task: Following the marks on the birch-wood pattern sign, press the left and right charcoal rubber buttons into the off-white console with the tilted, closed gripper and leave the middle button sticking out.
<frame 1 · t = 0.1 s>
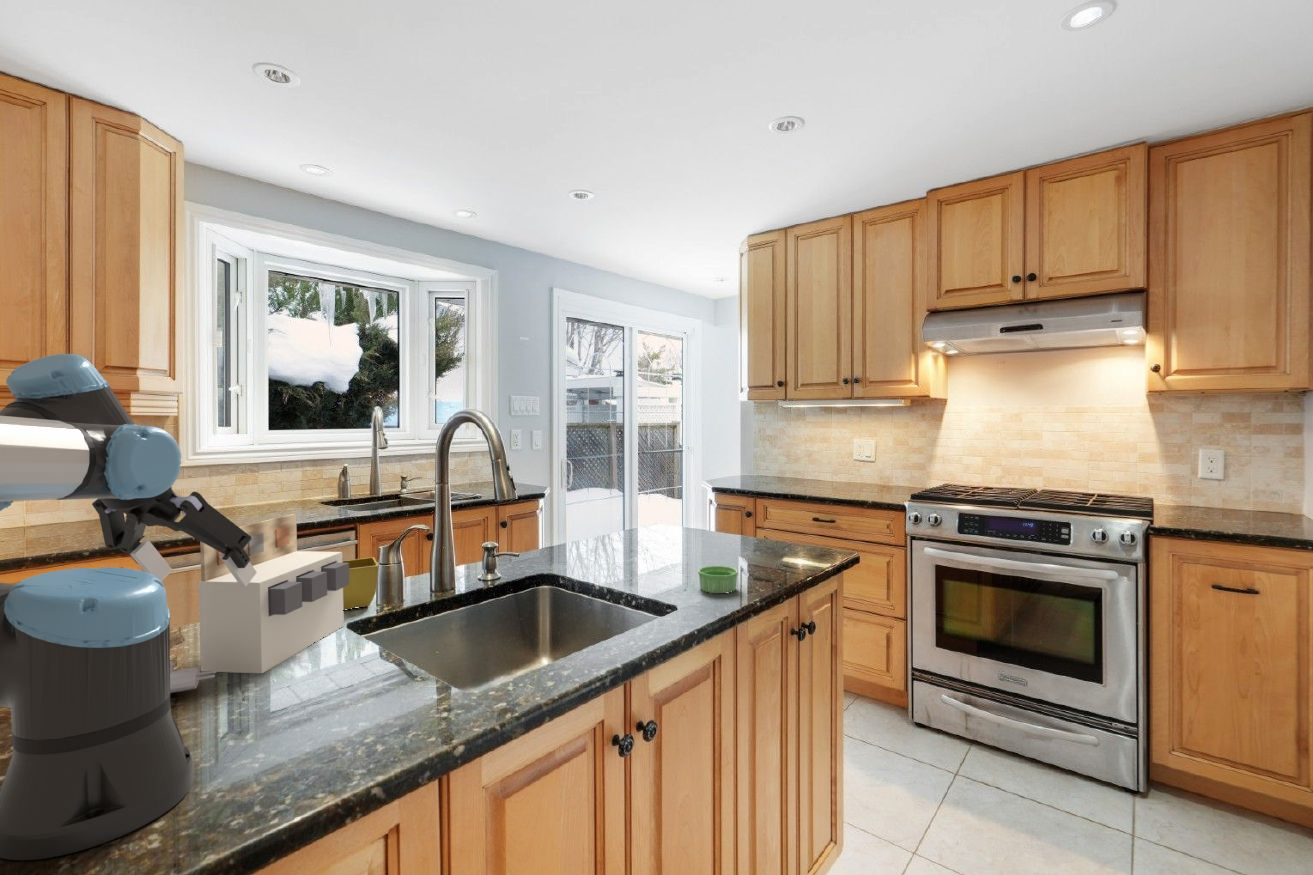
hand: (206, 578, 91), 15 cm above the countertop, tool tilted 35°, fingers open, 13 cm apart
ramekin: (717, 590, 139), on the countertop
charger: (149, 703, 85), on the countertop
right button: (334, 576, 110), point 10 cm above the countertop, slide at 0.0 cm
console: (279, 646, 104), on the countertop
middle button: (310, 586, 104), point 10 cm above the countertop, slide at 0.0 cm
left button: (284, 597, 97), point 10 cm above the countertop, slide at 0.0 cm
flower pot: (353, 607, 126), on the countertop
pattern sign: (256, 645, 105), resting on console
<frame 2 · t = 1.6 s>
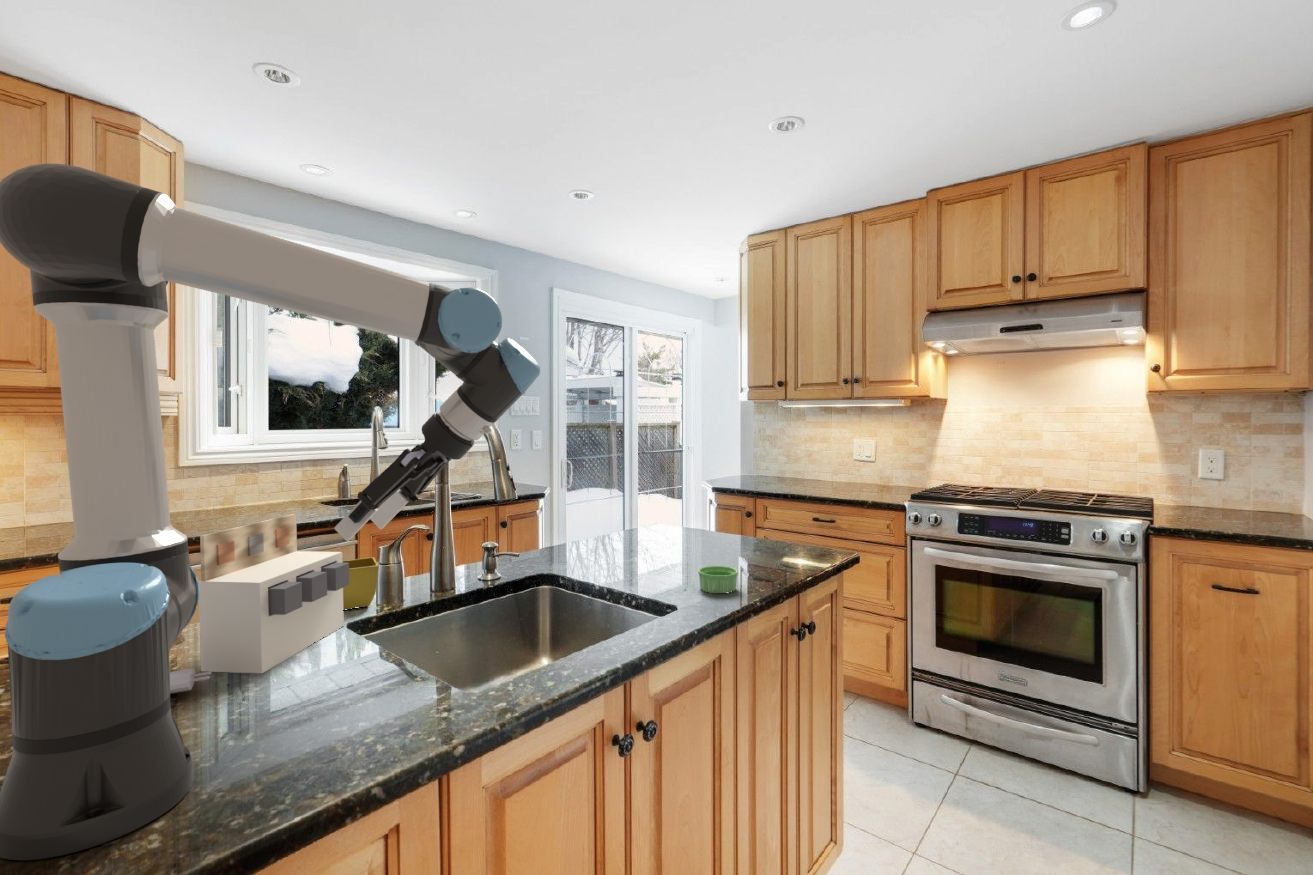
hand: (359, 528, 96), 22 cm above the countertop, tool tilted 45°, fingers open, 9 cm apart
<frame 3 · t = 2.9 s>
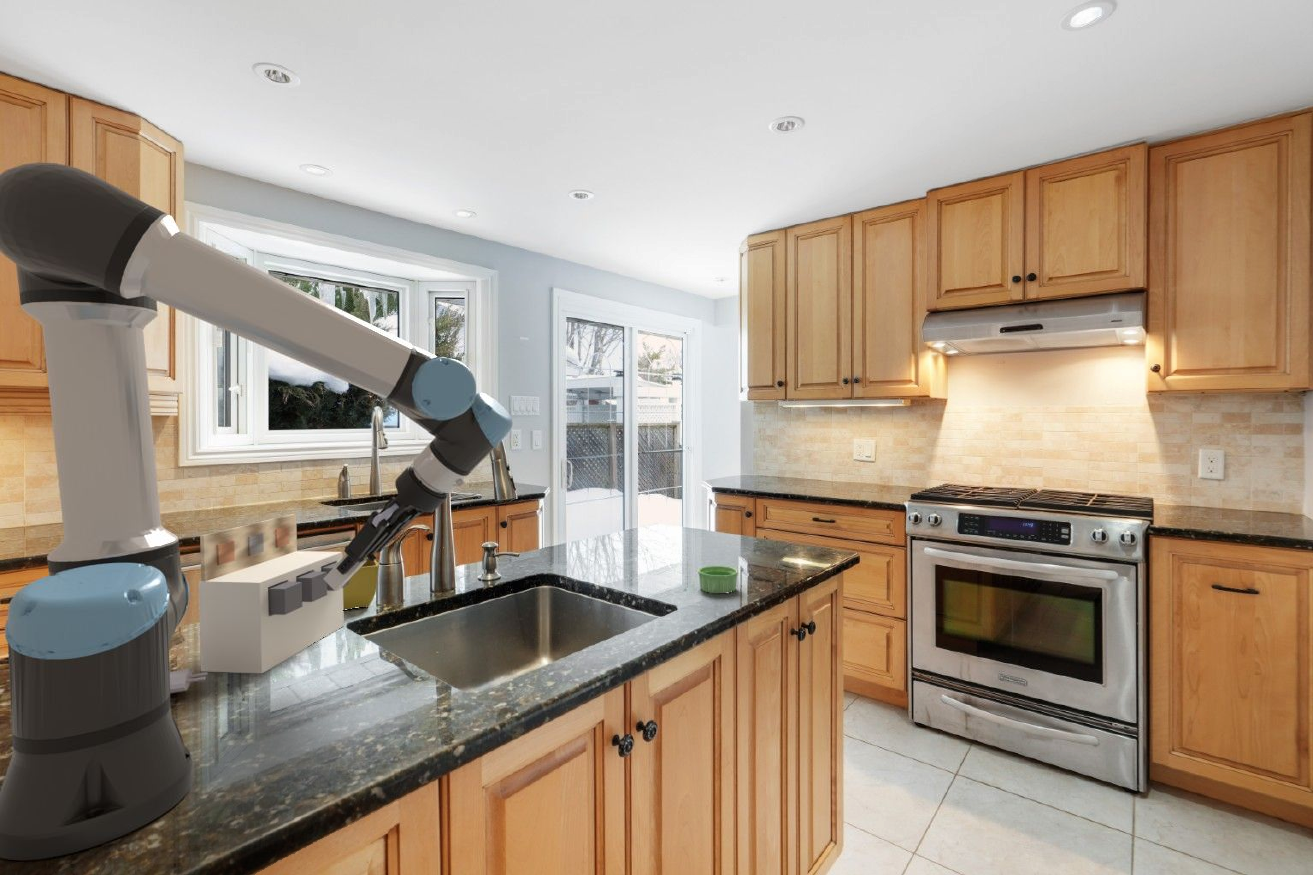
hand: (332, 583, 97), 13 cm above the countertop, tool tilted 45°, fingers closed
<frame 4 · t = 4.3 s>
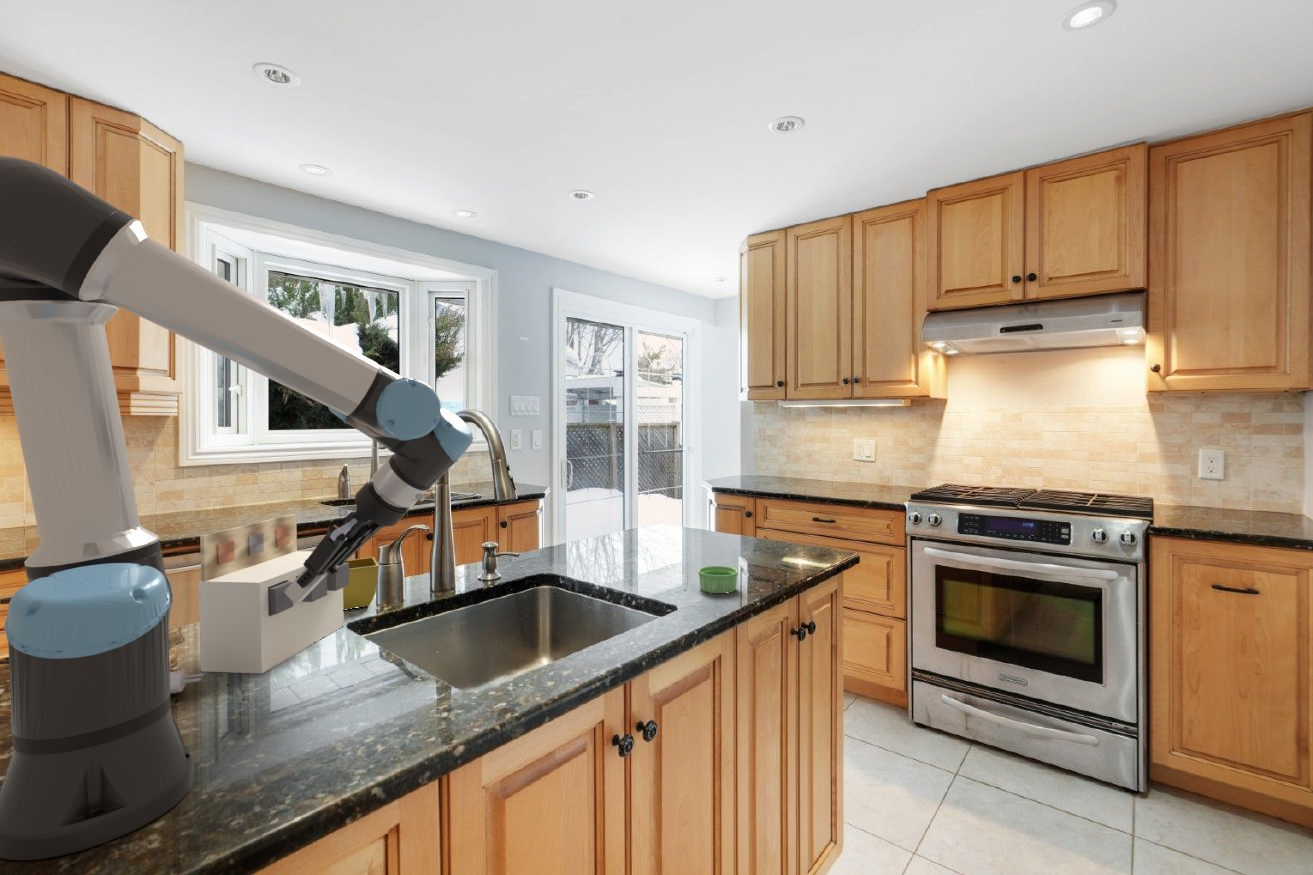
hand: (292, 596, 97), 11 cm above the countertop, tool tilted 45°, fingers closed
left button: (275, 597, 97), point 11 cm above the countertop, slide at 1.5 cm, touching gripper
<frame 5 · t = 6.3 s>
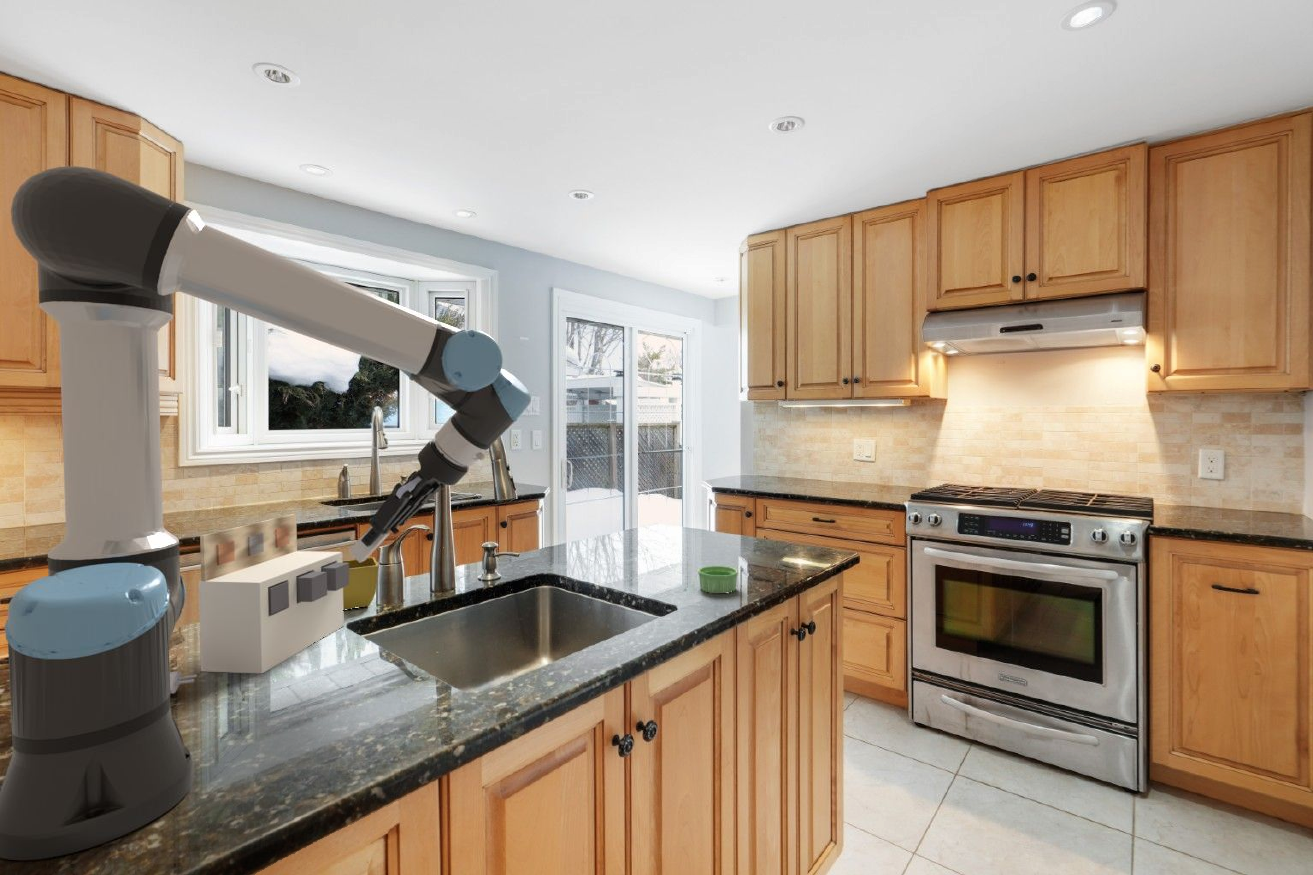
hand: (356, 555, 100), 17 cm above the countertop, tool tilted 45°, fingers closed
left button: (270, 597, 97), point 10 cm above the countertop, slide at 2.3 cm
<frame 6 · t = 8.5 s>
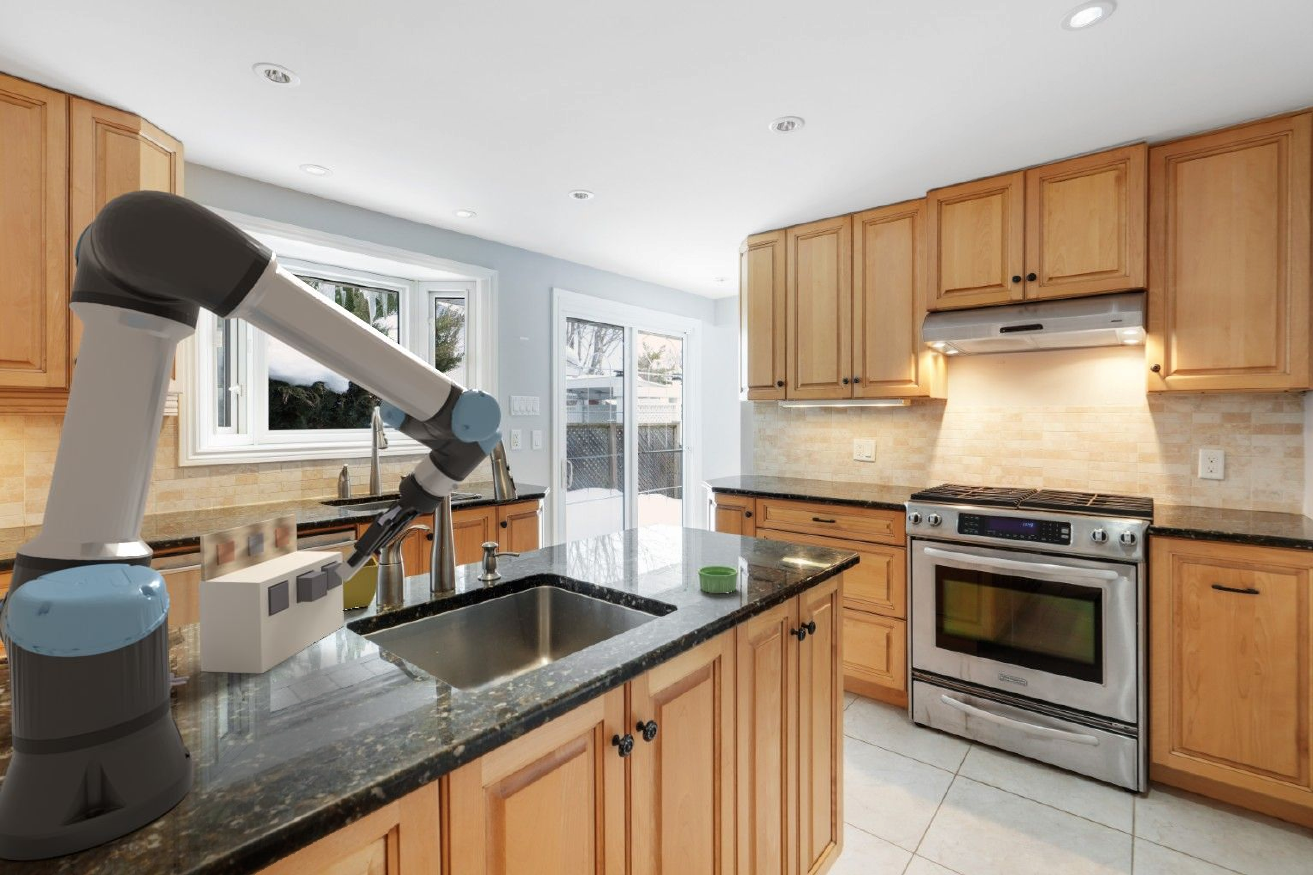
hand: (342, 575, 110), 11 cm above the countertop, tool tilted 45°, fingers closed
right button: (326, 576, 110), point 10 cm above the countertop, slide at 1.4 cm, touching gripper
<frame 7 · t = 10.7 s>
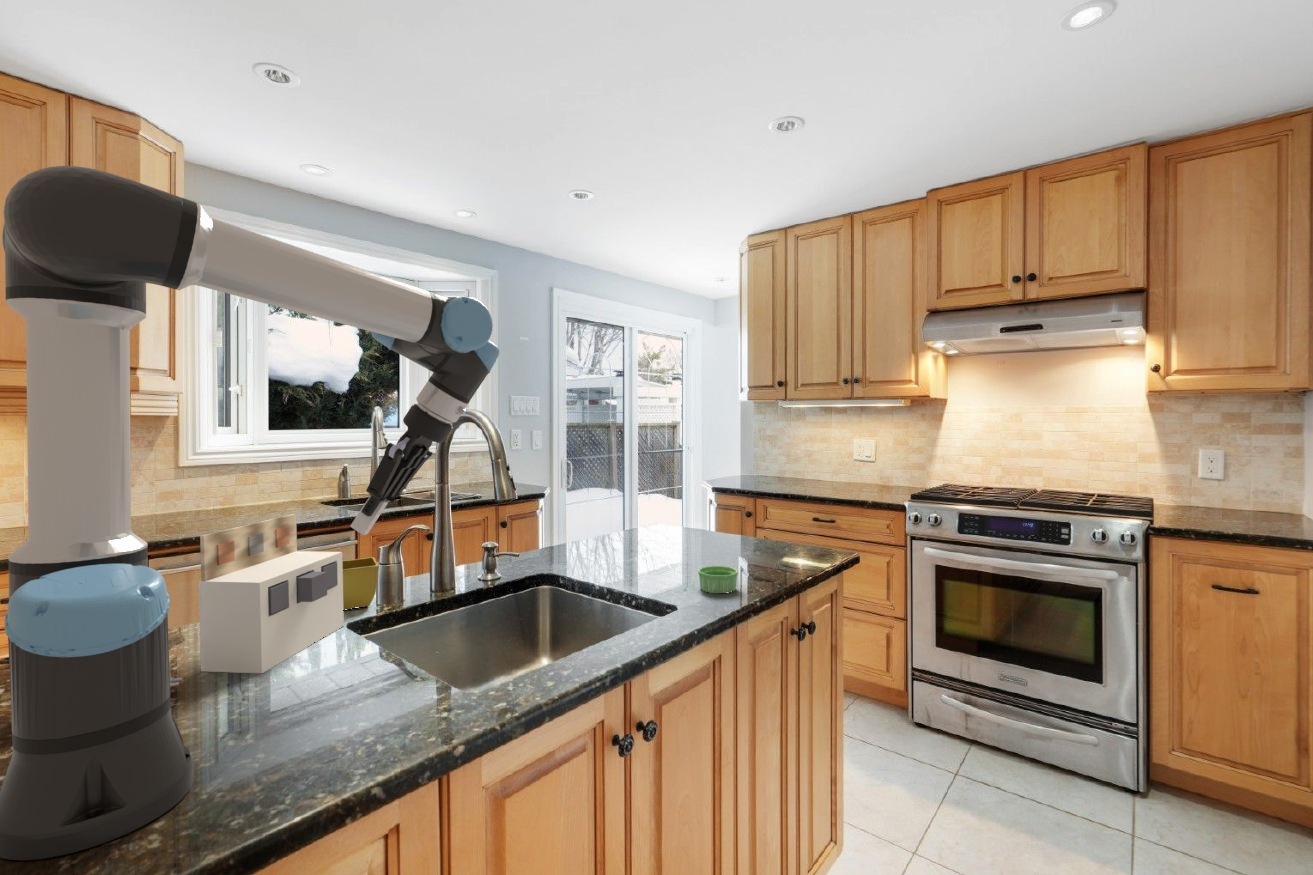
hand: (358, 530, 104), 20 cm above the countertop, tool tilted 35°, fingers closed
right button: (322, 576, 110), point 10 cm above the countertop, slide at 2.3 cm
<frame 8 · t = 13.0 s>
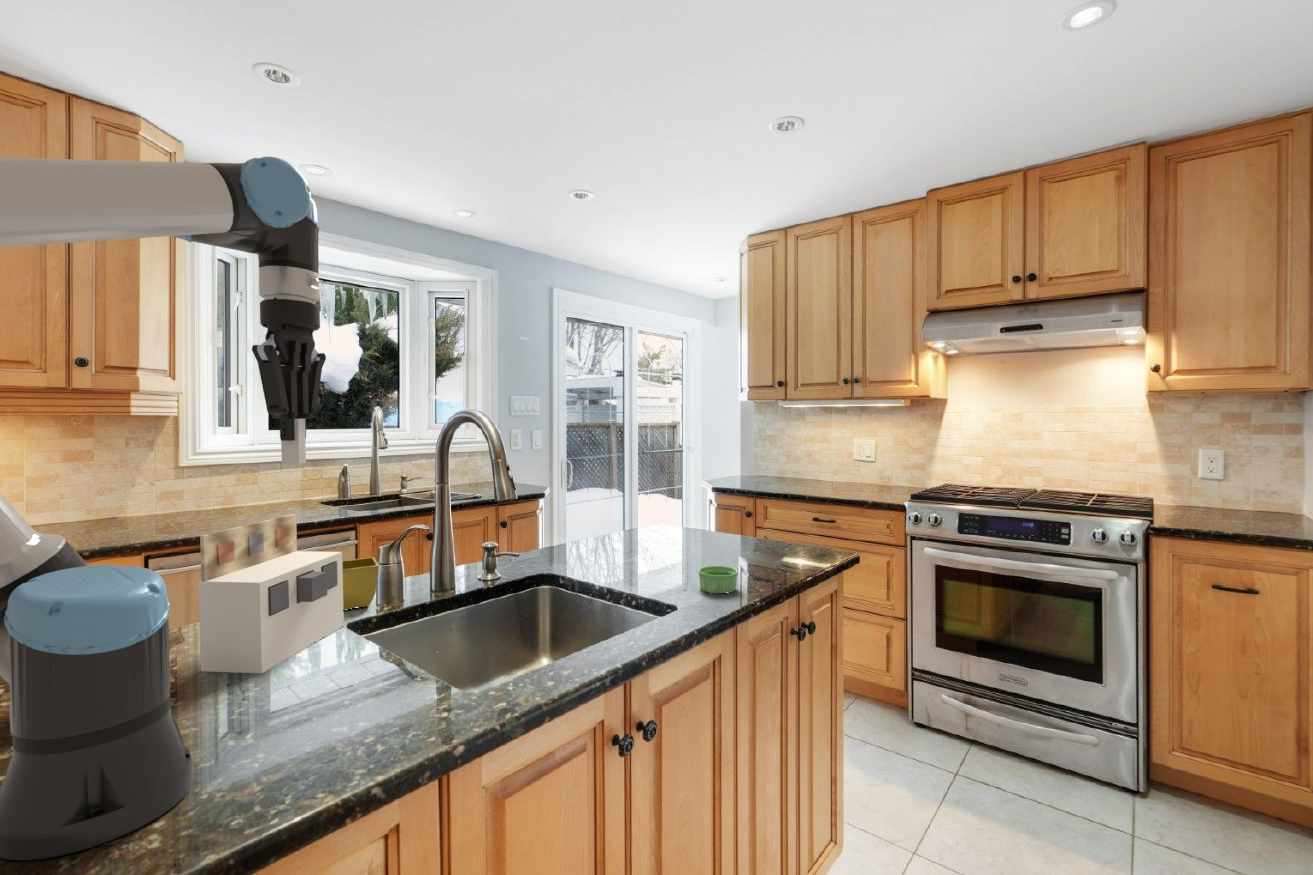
hand: (293, 462, 90), 32 cm above the countertop, tool pointing down, fingers closed
at the end: left button slide at 2.3 cm; right button slide at 2.3 cm; middle button slide at 0.0 cm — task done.
